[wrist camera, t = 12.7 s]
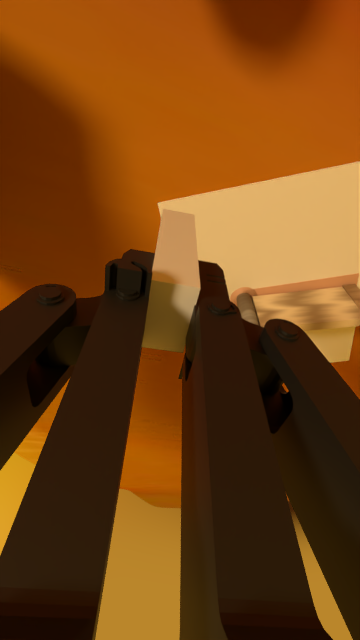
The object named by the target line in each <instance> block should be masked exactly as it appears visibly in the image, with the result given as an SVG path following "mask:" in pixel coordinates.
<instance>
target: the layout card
mask: <svg viewBox="0 0 360 640" xmlns="http://www.w3.org/2000/svg"><path fill="white" fill-rule="evenodd" d="M158 207H159V211H160V215H161V218H162V212H163V209H168V210H173V211H178V212H183V213H188V214H193V215H194V216H195V228H196V240H197V252H198V260H200V261H206V262H211V263H217V264H218V265H219V266H220V267H221V268H222V270H223V272H224V276H225V281H226V285H227V290H228V294H229V299H230V301H231V302H233V303H234V304H235V305H236V306H237V301H236V298H237V296H238V295H239V294H241V293H248V294H250V295H251V298H252V296H260V295H269V294H279V293H288V292H298V291H307V290H317V289H326V288H335V287H342V285H348V284H356V285H357V286H358V288H359V289H360V161H359V162H354V163H349V164H344V165H339V166H335V167H330V168H325V169H320V170H315V171H310V172H305V173H300V174H295V175H291V176H286V177H281V178H276V179H271V180H266V181H261V182H256V183H251V184H247V185H242V186H237V187H232V188H227V189H222V190H217V191H212V192H208V193H203V194H198V195H193V196H188V197H183V198H178V199H173V200H168V201H164V202H159V203H158ZM237 307H238V306H237ZM355 327H356V326H354V327H343V328H331V329H320V330H309V331H304V332H305V333H306V334H307V335H308V336H309V338H310V339H311V340H312V341H313V343H314V344H315V345H316V346H317V348H318V349H319V350H320V351H321V353H322V354H323V355H324V356H325V357H326V359H327V360H328V361H329V362H330V363H331V362H340V361H349V358H350V353H351V347H352V342H353V337H354V332H355Z"/></svg>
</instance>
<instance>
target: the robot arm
mask: <svg viewBox="0 0 360 640" xmlns="http://www.w3.org/2000/svg"><path fill="white" fill-rule="evenodd" d="M185 344H186V353H185V357H184V360H183V364H182V368H181V371H180V375H179V378H178V379H182V478H181V586H180V589H181V590H180V640H333V639H332V638H331V637H330V636H329V635H328V633H327V632H326V631H325V630H324V628H323V626H322V625H321V622H320V621H319V619H318V616H317V613H316V610H315V607H314V604H313V600H312V596H311V592H310V588H309V584H308V580H307V576H306V573H305V568H304V564H303V560H302V556H301V552H300V548H299V544H298V540H297V536H296V532H295V528H294V524H293V520H292V516H291V512H290V509H289V504H288V500H287V496H288V498H289V500H290V502H291V505H292V507H293V509H294V511H295V513H296V515H297V518H298V520H299V522H300V524H301V526H302V529H303V531H304V533H305V535H306V537H307V540H308V542H309V544H310V546H311V548H312V550H313V553H314V555H315V557H316V559H317V561H318V564H319V566H320V568H321V570H322V573H323V575H324V577H325V579H326V581H327V584H328V586H329V588H330V590H331V592H332V594H333V597H334V599H335V601H336V603H337V605H338V608H339V610H340V612H341V614H342V616H343V619H344V621H345V623H346V625H347V627H348V630H349V631H350V634H351V636H352V638H353V640H360V400H359V398H358V397H357V396H356V395H355V393H354V392H353V391H352V390H351V388H350V387H349V386H348V385H347V383H346V382H345V381H344V380H343V379H342V377H341V376H340V375H339V374H338V372H337V371H336V370H335V369H334V367H333V366H332V365H331V364H330V362H329V361H328V360H327V359H326V357H325V356H324V355H323V354H322V353H321V351H320V350H319V349H318V348H317V346H316V345H315V344H314V343H313V341H312V340H311V339H310V338H309V336H308V335H307V334H306V333H305V332H304V331H303V330H302V329H301V328H300V327H299V326H297V325H295V324H294V323H293V322H290V321H288V320H284V319H277V318H276V319H270V320H268V321H267V322H266V323H265V325H264V327H261V326H259V325H256V324H253V323H251V322H248V321H246V320H244V319H243V318H242V317H241V313H240V310H239V308H238V307H237V306H236V305H235V304H234V303H233V302H231V301H230V299H229V294H228V290H227V285H226V281H225V276H224V272H223V270H222V268H221V267H220V266H219V265H218V264H217V263H211V262H206V261H200V260H198V252H197V240H196V228H195V216H194V215H193V214H188V213H183V212H178V211H173V210H168V209H163V212H162V218H161V223H160V229H159V234H158V240H157V246H156V251H155V253H150V252H144V251H138V250H133V249H130V250H129V251H127V252H126V253H124V254H123V257H122V259H115V260H112V261H110V262H109V263H108V264H107V265H106V268H105V291H104V294H103V295H101V296H97V297H92V298H76V294H75V292H74V291H73V290H72V289H70V288H68V287H66V286H63V285H58V284H44V285H40V286H36V287H34V288H32V289H30V290H28V291H27V292H26V293H24V294H23V295H22V296H20V297H19V298H17V299H16V300H15V301H13V302H12V303H11V304H9V305H8V306H7V307H5V308H4V309H3V310H1V311H0V470H1V469H2V467H3V466H4V465H5V463H6V462H7V461H8V459H9V458H10V456H11V455H12V454H13V453H14V451H15V450H16V449H17V447H18V446H19V445H20V443H21V442H22V441H23V439H24V438H25V437H26V435H27V434H28V433H29V431H30V430H31V429H32V427H33V426H34V425H35V423H36V422H37V421H38V419H39V418H40V417H41V415H42V414H43V413H44V411H45V410H46V409H47V407H48V406H49V405H50V403H51V402H52V401H53V399H54V398H55V397H56V395H57V394H58V393H59V391H60V390H61V389H62V387H63V386H64V385H65V383H66V382H67V381H68V379H69V378H70V380H69V383H68V385H67V388H66V390H65V393H64V395H63V398H62V400H61V403H60V405H59V408H58V410H57V413H56V416H55V418H54V421H53V423H52V426H51V428H50V431H49V433H48V436H47V438H46V441H45V444H44V446H43V449H42V451H41V454H40V456H39V459H38V461H37V464H36V466H35V469H34V472H33V474H32V477H31V479H30V482H29V484H28V487H27V490H26V492H25V495H24V497H23V499H22V502H21V505H20V507H19V510H18V512H17V515H16V518H15V520H14V523H13V525H12V527H11V530H10V533H9V535H8V538H7V540H6V543H5V545H4V548H3V551H2V553H1V555H0V640H95V636H96V630H97V624H98V617H99V611H100V604H101V599H102V592H103V586H104V579H105V574H106V568H107V561H108V555H109V549H110V542H111V536H112V530H113V524H114V517H115V511H116V505H117V499H118V493H119V487H120V480H121V474H122V468H123V462H124V456H125V449H126V443H127V437H128V431H129V424H130V418H131V412H132V406H133V400H134V393H135V387H136V381H137V375H138V368H139V362H140V356H141V349H142V347H146V348H153V349H160V350H167V351H174V352H181V353H183V351H184V347H185ZM283 383H285V385H286V387H287V388H288V390H289V392H288V393H287V392H286V391H285V390H284V388H283V386H282V384H283ZM285 491H286V492H285ZM286 494H287V496H286Z"/></svg>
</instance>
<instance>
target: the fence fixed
mask: <svg viewBox="0 0 360 640" xmlns="http://www.w3.org/2000/svg"><path fill="white" fill-rule="evenodd" d="M236 301H237V306H238V308H239V310H240V313H241V317H242V318H243V319H244V320H246V321H248V322H251V323H253V324H256V325H259V323H258V319H257V316H256V312H255V309H254V305H253V301H252V298H251V295H250V294H248V293H241V294H239V295H238V296H237V298H236Z"/></svg>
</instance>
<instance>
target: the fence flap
mask: <svg viewBox="0 0 360 640" xmlns="http://www.w3.org/2000/svg"><path fill="white" fill-rule="evenodd" d="M252 301H253V305H254V309H255V312H256V316H257V319H258V323H259V326H261V327H264V325H265V323H266V322H267V321H268V320H270V319H276V318H277V319H284V320H288V321H290V322H293V323H294V324H295V325H297V326H299V327H300V328H301V329H302V330H303V331H309V330H320V329H331V328H343V327H354V326H360V289H359V288H358V286H357V285H356V284H348V285H342V287H335V288H326V289H317V290H307V291H298V292H288V293H279V294H269V295H260V296H252Z"/></svg>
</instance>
